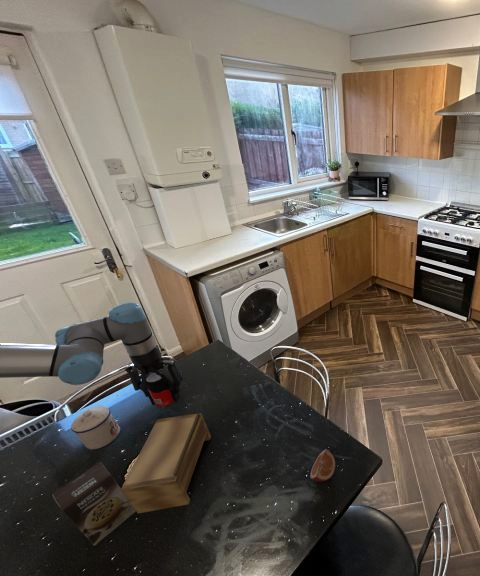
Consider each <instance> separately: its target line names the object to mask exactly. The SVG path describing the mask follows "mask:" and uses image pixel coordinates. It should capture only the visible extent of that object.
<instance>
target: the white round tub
mask: <svg viewBox="0 0 480 576" xmlns="http://www.w3.org/2000/svg"><path fill="white" fill-rule="evenodd" d="M70 428H71V429H70V430H71V431H72V432H73V433H74V434H75V435H76V436H77V437H78V439H79V440H80V441H81V443H82V444H83V445H84V446H85V448H87V449H88V450H97V449H101V448H103V447H106V446H107V445H109V444H111V443H112V442H113V441H114V440H115V439H116V438H117V437H118V436H119V434H120V432H121V427H120V426H119V424H118V421H116V419H115V417H114V416H113V415H112V411H111V409H110V407H107V406H103V405H101V406H94V407H91V408H89V409H87V410H85V411H83V412H82V413H80V414H78V415H77V416H76V417H75V418H74V419H73V421H72V423H71V426H70Z"/></svg>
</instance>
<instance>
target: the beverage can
mask: <svg viewBox="0 0 480 576" xmlns="http://www.w3.org/2000/svg"><path fill="white" fill-rule="evenodd" d="M146 380H147V381H146V386H147V388H148V390H149V392H150V394H151V396H152V398H153V401H154V403H155V405H154V406H156V407H159V408H164V407H169V406H170V405H171V404H173V403H175V402H174V399H173V397H172V395H171V392H170V390H169V388H170V386H169V385H168V384H167V383H166V382H165V381H164V380H163V379H162V378H161V377H160V376H159V375H157V374H156V373H149V375H148V377H147V378H146Z"/></svg>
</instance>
